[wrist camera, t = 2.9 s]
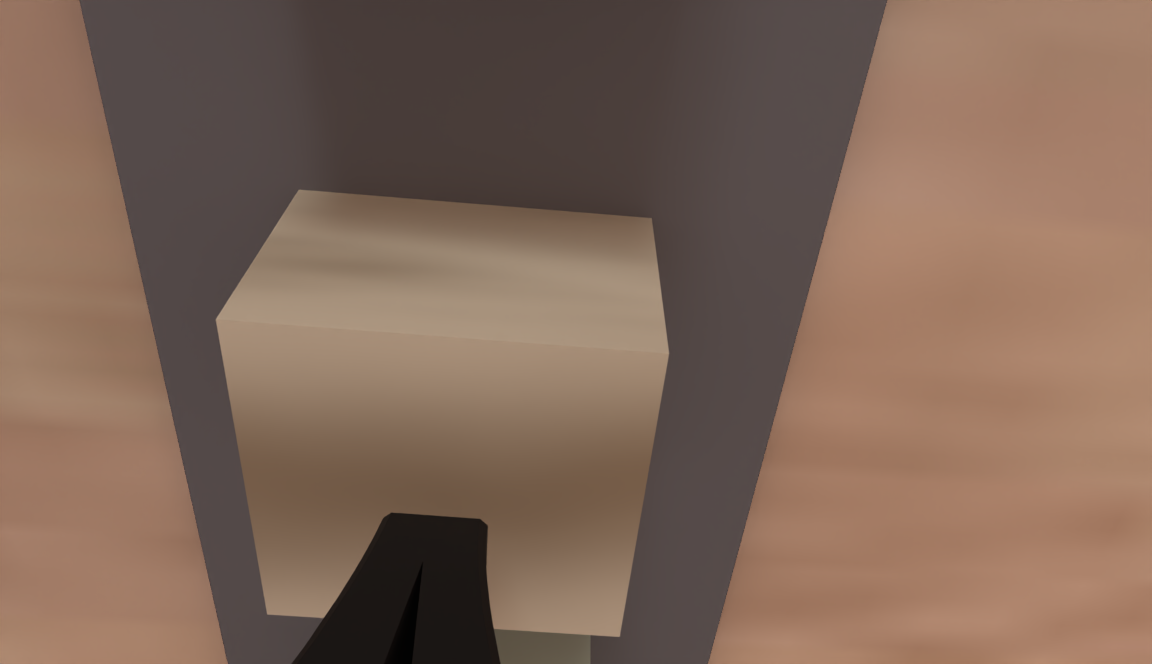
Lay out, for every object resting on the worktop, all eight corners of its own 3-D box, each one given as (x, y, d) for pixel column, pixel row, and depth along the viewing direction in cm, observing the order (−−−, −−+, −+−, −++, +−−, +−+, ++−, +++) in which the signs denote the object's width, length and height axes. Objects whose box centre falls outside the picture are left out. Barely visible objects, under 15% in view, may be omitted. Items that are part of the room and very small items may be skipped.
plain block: (614, 475, 18) (619, 636, 15) (325, 455, 18) (267, 614, 15) (651, 218, 15) (668, 353, 12) (298, 189, 15) (215, 319, 12)
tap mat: (672, 773, 26) (673, 789, 25) (256, 748, 25) (250, 765, 25) (1097, -844, 9) (1123, -872, 9) (-116, -997, 9) (-153, -1036, 8)
